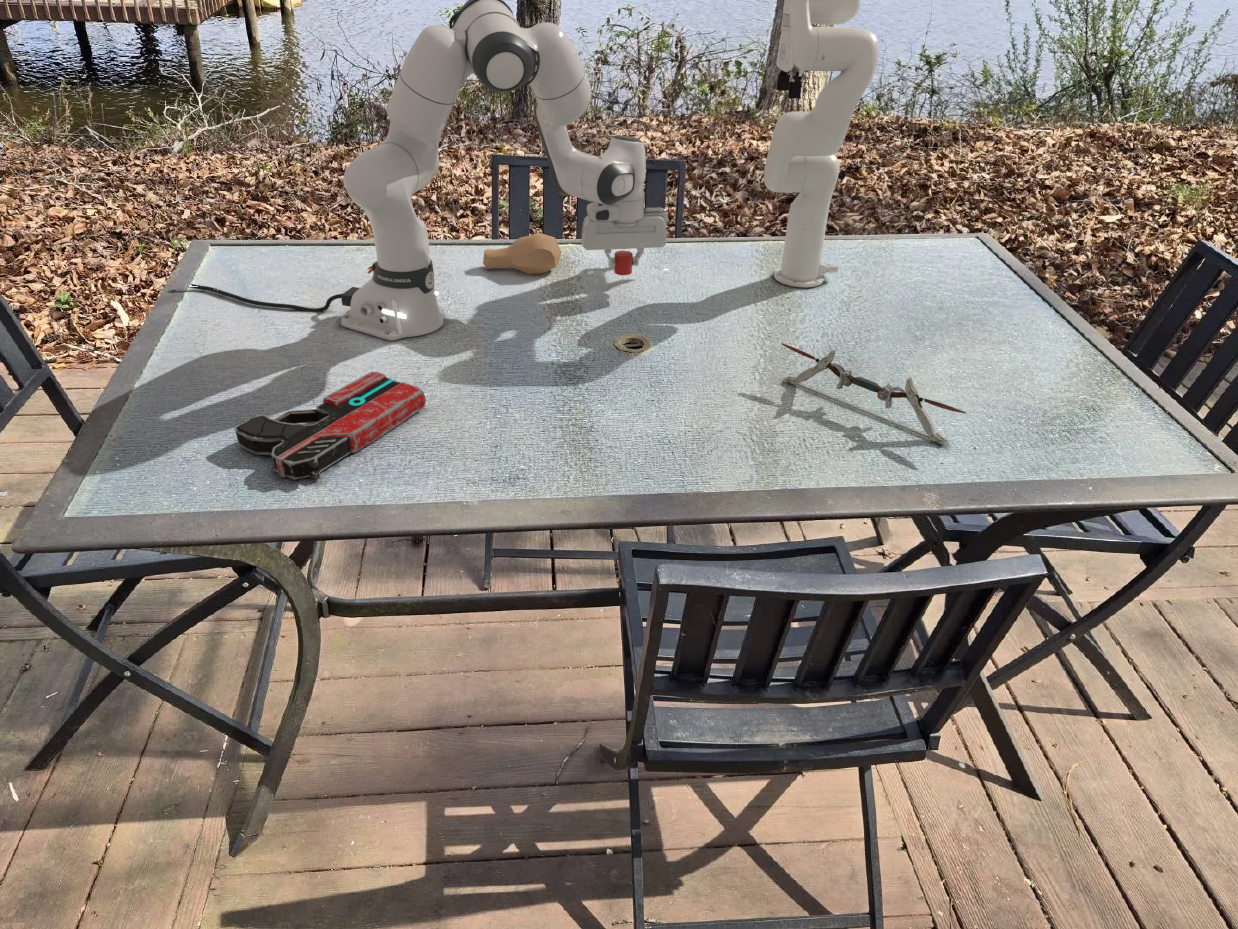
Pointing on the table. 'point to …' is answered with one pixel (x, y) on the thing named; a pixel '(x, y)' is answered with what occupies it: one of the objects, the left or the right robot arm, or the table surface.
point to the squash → (526, 254)
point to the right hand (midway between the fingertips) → (788, 93)
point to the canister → (623, 262)
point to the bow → (883, 393)
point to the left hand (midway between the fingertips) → (623, 265)
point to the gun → (331, 425)
